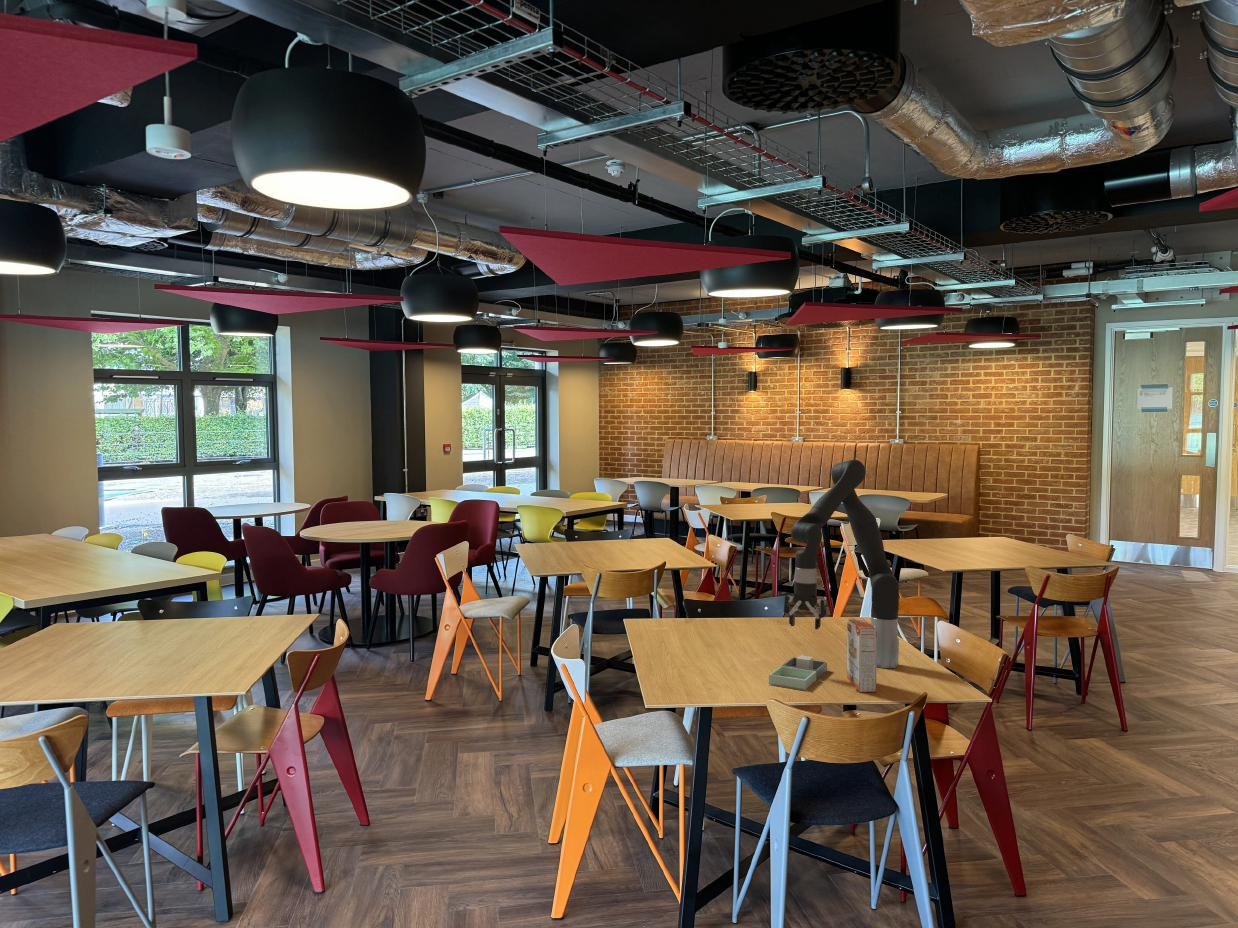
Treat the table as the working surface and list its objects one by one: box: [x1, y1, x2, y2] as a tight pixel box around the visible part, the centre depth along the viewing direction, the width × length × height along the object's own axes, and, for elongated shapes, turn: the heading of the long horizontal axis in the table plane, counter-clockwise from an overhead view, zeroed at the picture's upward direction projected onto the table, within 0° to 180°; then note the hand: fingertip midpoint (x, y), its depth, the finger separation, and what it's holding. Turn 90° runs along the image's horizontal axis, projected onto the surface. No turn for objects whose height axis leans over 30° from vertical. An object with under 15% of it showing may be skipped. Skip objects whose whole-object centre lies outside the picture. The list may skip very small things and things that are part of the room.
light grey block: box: [795, 654, 814, 669], centre depth 270 cm, size 4×4×5 cm
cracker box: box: [846, 618, 877, 693], centre depth 257 cm, size 14×6×21 cm, turn 179°
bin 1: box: [768, 665, 817, 692], centre depth 259 cm, size 12×12×4 cm
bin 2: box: [781, 657, 828, 680], centre depth 270 cm, size 12×12×4 cm
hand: (804, 627), depth 270 cm, fingers open, 8 cm apart
